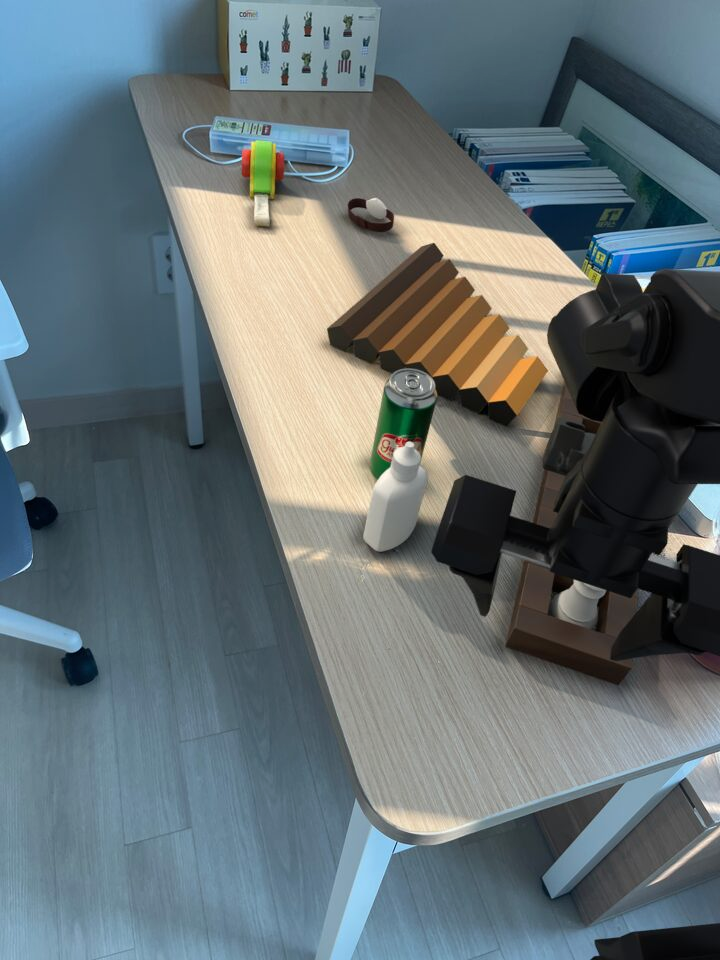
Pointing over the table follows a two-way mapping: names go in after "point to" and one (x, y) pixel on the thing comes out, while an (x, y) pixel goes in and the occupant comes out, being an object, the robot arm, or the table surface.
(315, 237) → the table surface
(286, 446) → the table surface
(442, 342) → the pan flute
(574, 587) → the rook chess piece
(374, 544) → the eye dropper bottle
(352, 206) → the watch
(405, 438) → the soda can
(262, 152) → the toy measuring tape
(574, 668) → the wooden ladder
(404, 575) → the table surface
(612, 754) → the table surface
